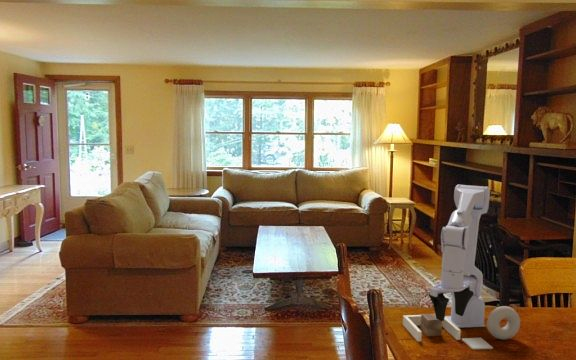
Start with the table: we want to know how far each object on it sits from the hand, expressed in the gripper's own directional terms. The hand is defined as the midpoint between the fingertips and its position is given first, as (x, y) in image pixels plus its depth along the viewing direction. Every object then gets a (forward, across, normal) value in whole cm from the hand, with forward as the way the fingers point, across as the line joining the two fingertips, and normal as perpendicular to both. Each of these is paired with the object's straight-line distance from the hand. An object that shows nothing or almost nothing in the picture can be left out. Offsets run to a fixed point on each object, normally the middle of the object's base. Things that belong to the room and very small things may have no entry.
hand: (449, 317), depth 124 cm
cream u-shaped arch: (+9, -4, -10) cm, 14 cm away
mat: (+9, -10, +1) cm, 14 cm away
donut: (+10, -20, +2) cm, 22 cm away
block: (+10, -4, -10) cm, 14 cm away
